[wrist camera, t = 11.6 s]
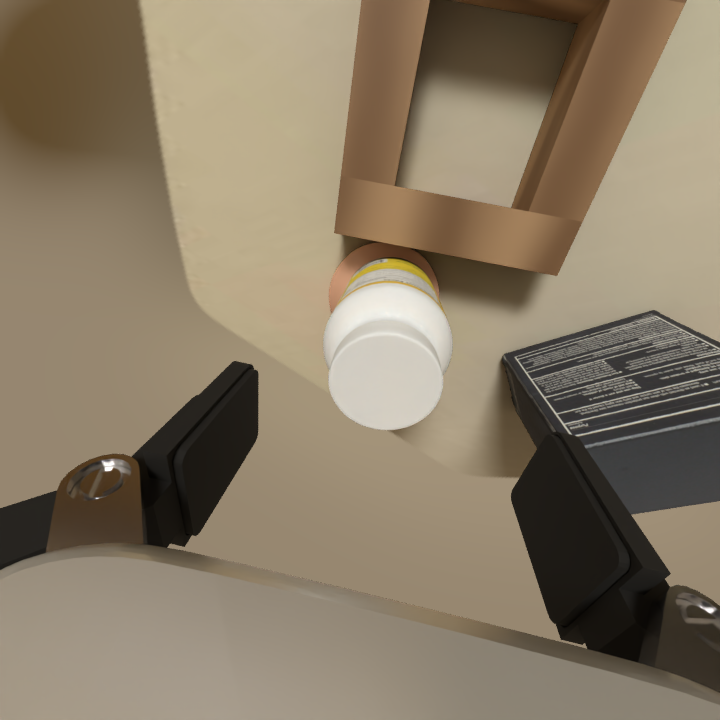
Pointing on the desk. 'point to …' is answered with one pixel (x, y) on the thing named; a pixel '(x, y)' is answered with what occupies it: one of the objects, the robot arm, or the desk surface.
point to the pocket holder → (551, 149)
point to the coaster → (369, 254)
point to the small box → (630, 405)
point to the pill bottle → (387, 346)
